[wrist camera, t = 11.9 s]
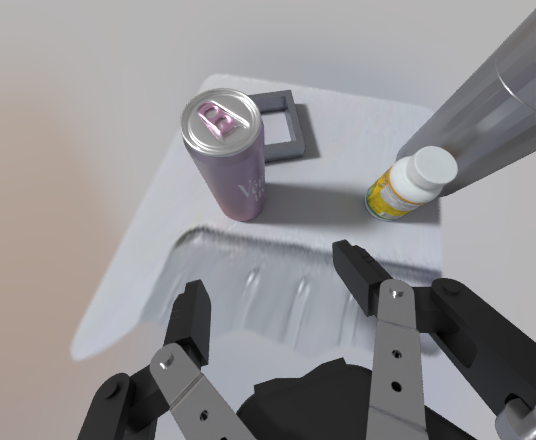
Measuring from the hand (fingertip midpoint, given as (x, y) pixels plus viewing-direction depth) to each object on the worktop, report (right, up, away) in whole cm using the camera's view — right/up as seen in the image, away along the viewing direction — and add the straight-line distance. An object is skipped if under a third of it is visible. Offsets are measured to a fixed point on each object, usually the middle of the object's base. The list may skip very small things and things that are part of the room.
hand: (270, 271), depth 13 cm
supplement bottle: (+15, +5, +17) cm, 23 cm away
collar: (-1, +16, +19) cm, 25 cm away
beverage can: (-3, +6, +17) cm, 18 cm away
